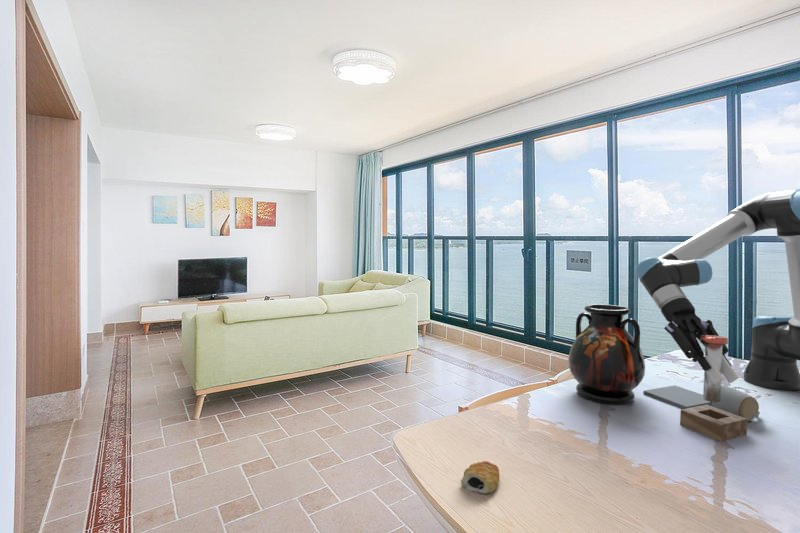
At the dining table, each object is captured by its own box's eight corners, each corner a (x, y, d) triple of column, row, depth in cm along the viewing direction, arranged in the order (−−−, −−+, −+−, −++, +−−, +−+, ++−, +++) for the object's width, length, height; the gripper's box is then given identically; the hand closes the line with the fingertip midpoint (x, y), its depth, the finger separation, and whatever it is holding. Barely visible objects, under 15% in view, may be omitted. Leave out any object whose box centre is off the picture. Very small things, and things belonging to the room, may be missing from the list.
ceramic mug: (740, 424, 112) (742, 396, 112) (710, 412, 120) (711, 385, 120) (769, 420, 115) (770, 392, 115) (737, 409, 123) (739, 383, 123)
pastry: (475, 467, 92) (476, 449, 91) (506, 476, 88) (507, 458, 88) (459, 489, 84) (459, 470, 83) (492, 499, 80) (492, 480, 80)
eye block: (705, 418, 116) (706, 404, 116) (746, 434, 106) (747, 418, 106) (680, 424, 112) (680, 409, 112) (719, 441, 103) (720, 425, 103)
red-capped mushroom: (708, 394, 112) (710, 334, 111) (730, 402, 107) (733, 338, 106) (693, 397, 110) (695, 336, 109) (715, 405, 105) (718, 340, 104)
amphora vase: (554, 394, 134) (556, 306, 132) (586, 379, 148) (588, 300, 147) (627, 415, 118) (630, 315, 116) (654, 396, 132) (658, 307, 130)
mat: (674, 388, 140) (674, 385, 140) (719, 403, 127) (719, 400, 127) (643, 393, 135) (643, 390, 135) (686, 410, 122) (686, 406, 122)
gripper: (690, 310, 124) (744, 385, 109) (640, 313, 121) (688, 390, 106) (707, 295, 119) (766, 371, 103) (655, 297, 116) (708, 376, 100)
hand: (726, 380), depth 105 cm, fingers closed on red-capped mushroom, 3 cm apart
